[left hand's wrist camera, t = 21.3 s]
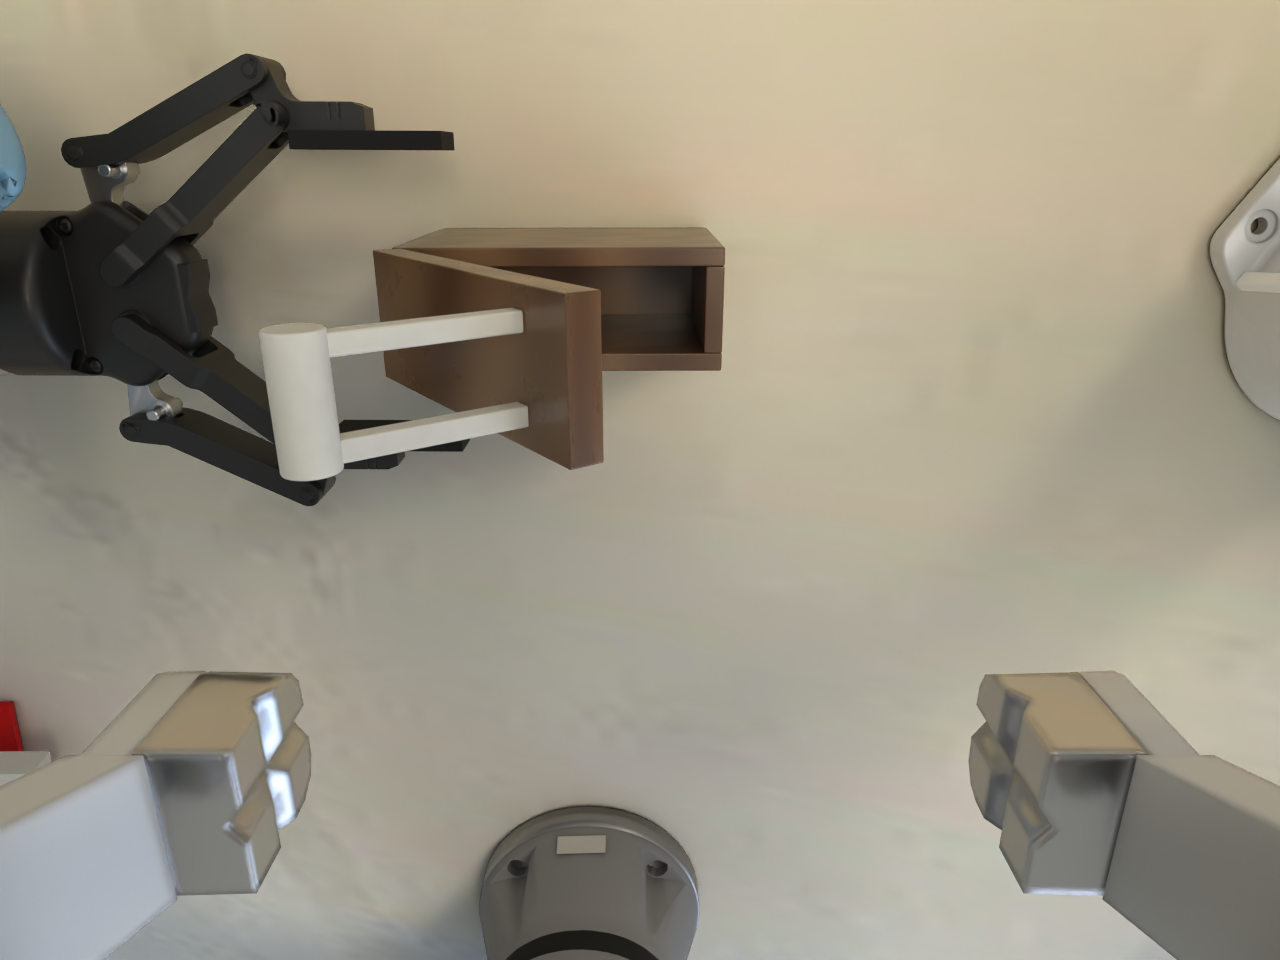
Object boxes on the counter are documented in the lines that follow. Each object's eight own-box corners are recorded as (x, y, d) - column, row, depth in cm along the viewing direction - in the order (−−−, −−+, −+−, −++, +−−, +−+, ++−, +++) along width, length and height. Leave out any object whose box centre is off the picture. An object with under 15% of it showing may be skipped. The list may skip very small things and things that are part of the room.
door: (601, 289, 25) (286, 322, 20) (604, 462, 27) (315, 531, 22) (401, 248, 36) (167, 263, 31) (412, 372, 38) (193, 405, 33)
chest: (706, 227, 46) (725, 247, 36) (704, 326, 48) (721, 370, 38) (444, 227, 46) (391, 247, 36) (452, 326, 48) (403, 371, 38)
